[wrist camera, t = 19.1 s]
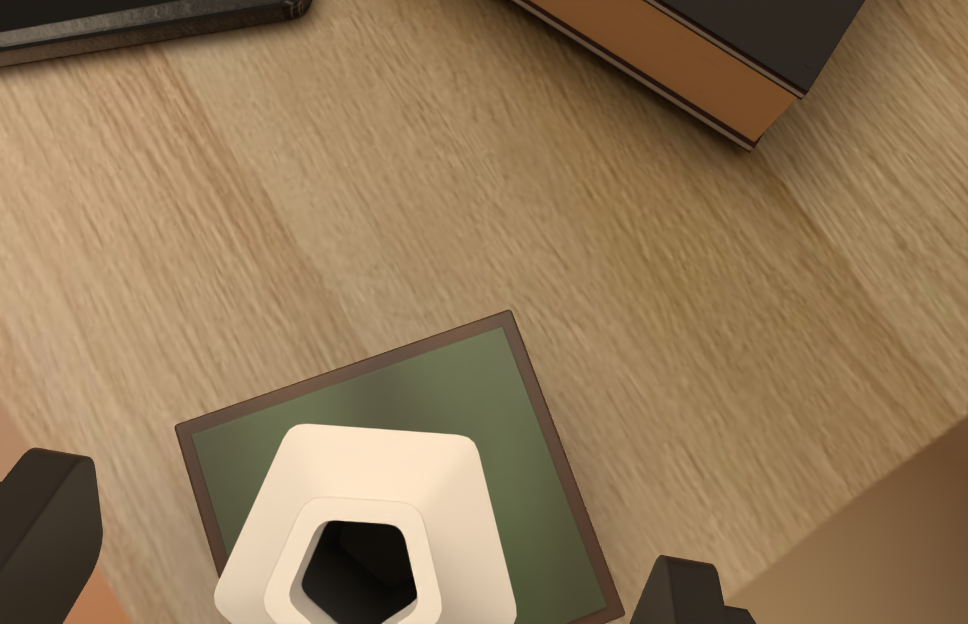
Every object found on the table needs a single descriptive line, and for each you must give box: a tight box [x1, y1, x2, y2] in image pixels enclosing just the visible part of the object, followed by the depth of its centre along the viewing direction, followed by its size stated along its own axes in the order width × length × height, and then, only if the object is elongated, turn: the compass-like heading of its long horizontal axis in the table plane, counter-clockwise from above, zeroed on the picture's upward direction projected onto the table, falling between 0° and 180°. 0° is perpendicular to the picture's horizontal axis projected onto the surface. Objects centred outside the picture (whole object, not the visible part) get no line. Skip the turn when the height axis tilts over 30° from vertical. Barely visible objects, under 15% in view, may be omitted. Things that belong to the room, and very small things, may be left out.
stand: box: [175, 310, 625, 624], centre depth 29 cm, size 11×10×9 cm
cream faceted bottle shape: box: [214, 424, 517, 624], centre depth 17 cm, size 5×4×15 cm
